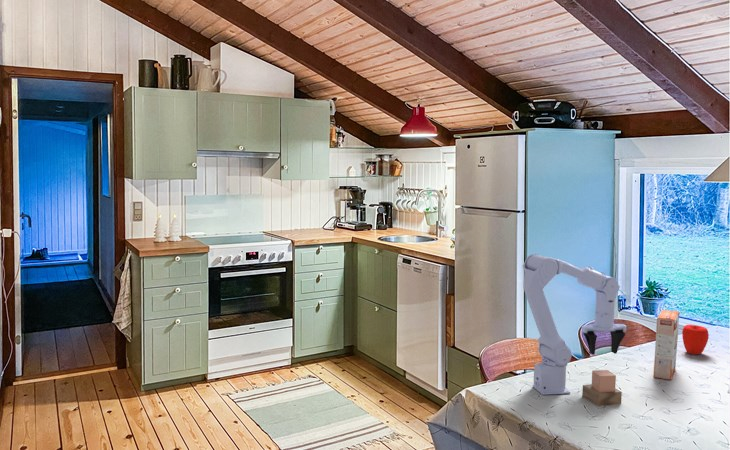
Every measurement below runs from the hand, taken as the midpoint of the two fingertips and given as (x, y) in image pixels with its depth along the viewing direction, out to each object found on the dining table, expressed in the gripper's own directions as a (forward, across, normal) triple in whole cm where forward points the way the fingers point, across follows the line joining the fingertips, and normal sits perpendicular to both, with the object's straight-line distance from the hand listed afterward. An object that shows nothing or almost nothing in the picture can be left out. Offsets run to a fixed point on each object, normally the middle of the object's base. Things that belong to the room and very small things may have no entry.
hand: (603, 353), depth 204 cm
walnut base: (+11, -7, -13) cm, 18 cm away
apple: (+11, +52, +27) cm, 60 cm away
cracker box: (+11, +27, +7) cm, 30 cm away
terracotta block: (+7, -7, -13) cm, 16 cm away
